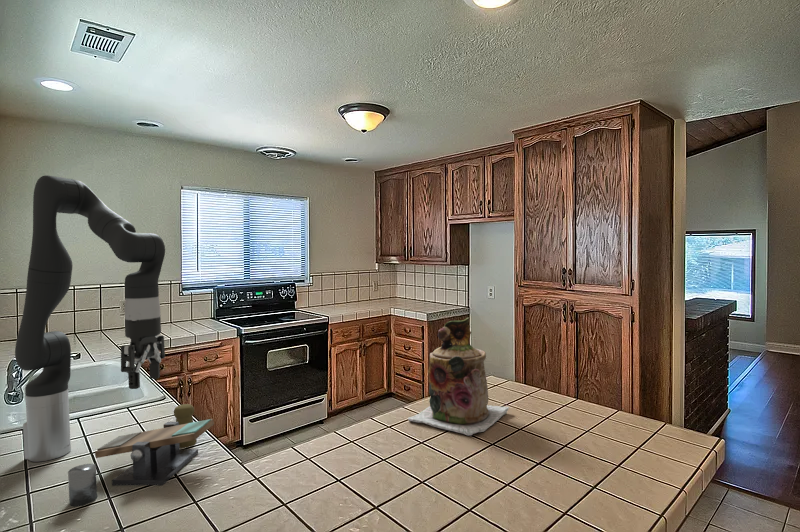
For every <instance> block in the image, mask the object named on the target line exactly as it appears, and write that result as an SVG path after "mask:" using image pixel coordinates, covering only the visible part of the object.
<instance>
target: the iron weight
mask: <svg viewBox="0 0 800 532" xmlns="http://www.w3.org/2000/svg"><path fill="white" fill-rule="evenodd" d="M96 465H97V464H96V463H85V464H80V465H77V466H74V467H71V468H70V469H69V470H68V471H67V476H68V477H67V478H68V498H69V499H68V501H69V502H68V503H69V506H70V507H74V508H77V507H83V506H86V505H88V504H91V503H93V502H95V501H96V500H97V498H98V489H97V487H98V485H97V466H96Z"/></svg>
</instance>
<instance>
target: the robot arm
mask: <svg viewBox="0 0 800 532" xmlns="http://www.w3.org/2000/svg"><path fill="white" fill-rule="evenodd" d="M33 189H34V190H33V196H32V197H33V198H32V201H33V202H32V235H31V236H32V238H31V245H30V246H31V247H30V248H31V249H30V255H29V261H28V268H27V269H28V270H27V278H26V288H25V289H26V291H25V297H24V299H25V300H24V305H23V312H22V316H21V321H20V325H19V329H18V333H17V338H16V341H15V347H14V348H15V349H14V356H15V357H14V358H15V361H16V364H17V367H19V368H20V369H21V370H23V371H35V370H41V369H42V371H41V373H39V375H38V376H36V377H35V378H34V379H32V380H30V381H29V382H28V383H27V384H26V385H25V388H24V389H25V390H24V394H25V409H26V410H25V413H26V414H25V418H26V422H24V423H23V424H22V431H23V452H24V460H28V461H30V462H45V461H50V460H54V459H57V458H61V457H63V456H65V455H68V454H69V453H70V452H71V450H72V446H71V445H72V444H71V422H70V420H71V419H70V401H69V400H70V399H69V382H70V380H71V374H72V373H71V370H72V369H71V366H72V365H71V364H72V363H71V361H72V360H71V359H72V349H71V341H70V340H69V338H68V336H67V334H65V333H64V332H63V331H59V330H55V331H48V332H45V331H46V328H47V327H46V326H47V323H48V321H49V319H50V317H51V315H52V314H53V312H54V311H55V309H56V308H57V307H58V305H59V304H60V303H61V302H62V300H63V299H65V296H66V295H67V293H68V291H69V289H70V286H71V282H72V274H73V261H72V258H71V256H70V254H69V251H68V250H67V248H66V247H65V245H64V243H63V242H62V240H61V238H60V236H59V233H58V228H57V214H59V213H60V214H69V215H72V214H73V215H75V214H76V215H80V216H82V217H84V218H87V224H88V227H89V229H90V230H91V231H92V233H93V234H95V235H96V236H97V237H98V238H100V239H101V240H102V241H104V242H105V243H107V245H109V247H110V250H111V251H112V252H113V254H114V256H115V257H116V258H117V259H119V260H120V261H123V262H126V263H131V264H132V263H134V264H135V263H140V267H139V269H138V270H137V271H134V272H131V273H128V274H127V275H126V276H125V278H124V297H125V299H124V300H125V301H124V302H125V303H124V309H123V310H124V335H125V337H126V338H128V339H130V343H129V345H126V344H125V345H122V346H121V347H120V372H121V373H127V375H128V376H127V377H128V379H127V380H128V388H129V389H130V390H138V389H139V388H140V387H141V379H140V378H141V377H140V376H141V374H140V369H141V367H142V365H143V364H144V363H145V361H146V359H147V360H148V363H149V364H148V365H149V367H148V368H149V378H150V379H155V380H157V379H159V378H160V377H161V371H160V370H161V369H160V366H161V365H160V363H161V362H162V360H163V359H165V358H166V349H165V336H164V335H163V334H162V335H161V333H162V324H161V323H162V321H161V319H162V318H161V315H162V314H161V304H160V303H161V302H160V297H159V296H160V293H159V292H160V291H159V279H160V274H161V272H162V267H163V262H164V260H165V255H166V245H165V243H164V241H163V239H162V237H161V236H159V234H156V233H153V232H152V233H150V232H149V233H148V232H147V233H146V232H137V230H136V228H135V226H134V224H132V223H131V222H130V221H129V220H127V219H125V218H124V217H123V216H121V215H120V214H118V213H116V212H115V211H114V210H112V209H111V208H109V207H108V205H106V204H105V202H103V200H101V199H100V198H99V196H97V194H96V193H94V191H93V190H92V189H91V188H90V187H89V186H88V185H87V184H85V183H84V182H83V181H81V180H78V179H73V178H67V177H62V176H61V177H60V176H55V175H49V174H48V175H47V174H45V175H42V176H40V177H39V178H38V179H37V181H36V183H35V184H34V188H33ZM127 362H128V363H127Z"/></svg>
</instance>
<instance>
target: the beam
mask: <svg viewBox="0 0 800 532" xmlns="http://www.w3.org/2000/svg"><path fill="white" fill-rule="evenodd" d="M214 423H215V422H214V419H213V418H209V419H203V420H200V421H199V420H197V421H193V422H192V423H187V424H182V425H177V426H171V427H166V428H164V427H160V428H156V429H151V430H145V431H138V432H135V433H134V432H132V433H129V434H124V435H118V436H117V437H115V438H113V439H112V440H110V441H108V442H107V443H105V444H104V445H101V446H100V447H99V448H97V450H95V451H94V456H95V459H100V458H104V457H110V456H114V455H120V454H121V455H122V454H126V453H132V445H133V444H135V443H136V442H150V448H154V447H160V446H165V445H170V444H176V443H181V442H187V441H192V440H197V439H198V438H199V437H200V436H202V435H203V434H204V433H206V432H207V431H208V430H210V428H211V427H213V426H214V425H215V424H214Z"/></svg>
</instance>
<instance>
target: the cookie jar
mask: <svg viewBox="0 0 800 532" xmlns="http://www.w3.org/2000/svg"><path fill="white" fill-rule="evenodd" d="M469 323H470V317H466V318H465V319H463V320H450V321H447V322H446V323H445V324H444V326H443V327H441V328H440V329H438V331H437V338H438V340H440V341H442V344H441V346H440V347H437V348H436V349H434V350H433V352H430V353H429V368H428V371H427V372H428V379H429V380H428V383H429V388H428V393H429V397H430V398H429V406H427V407H426V408H425V409H424V410H422V411H421V412H418V413H417V414H414V415H413V416H409V417H407V420H408V421H409V422H413V423H419V424H420V423H421V424H426V425H429V426H430V427H434V428H438V429H442V430H446V431H450V432H454V433H459V434H463V435H466V436H468V437H469V436H473V434H477V433H482V432H485V431H487V430H488V429H489V428H490V427H491V426H493V425H494V424H495V423H497V421H499V420H500V419H501V418H502V417H503V416H504V415H506V414H507V413H508V411H509V409H510V408H509V406H498V405H491V404H490V405H488V403H489V389H488V387H489V386H488V383H487V382H488V381H487V377H486V369H485V361H486V359H487V353H486V351H485V350H482V349H479V348H476V347H473V346H472V345H471V344H470V342H469V341H470V338H471V335H472V331H471V330H470V327H471V326H470V325H469Z"/></svg>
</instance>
